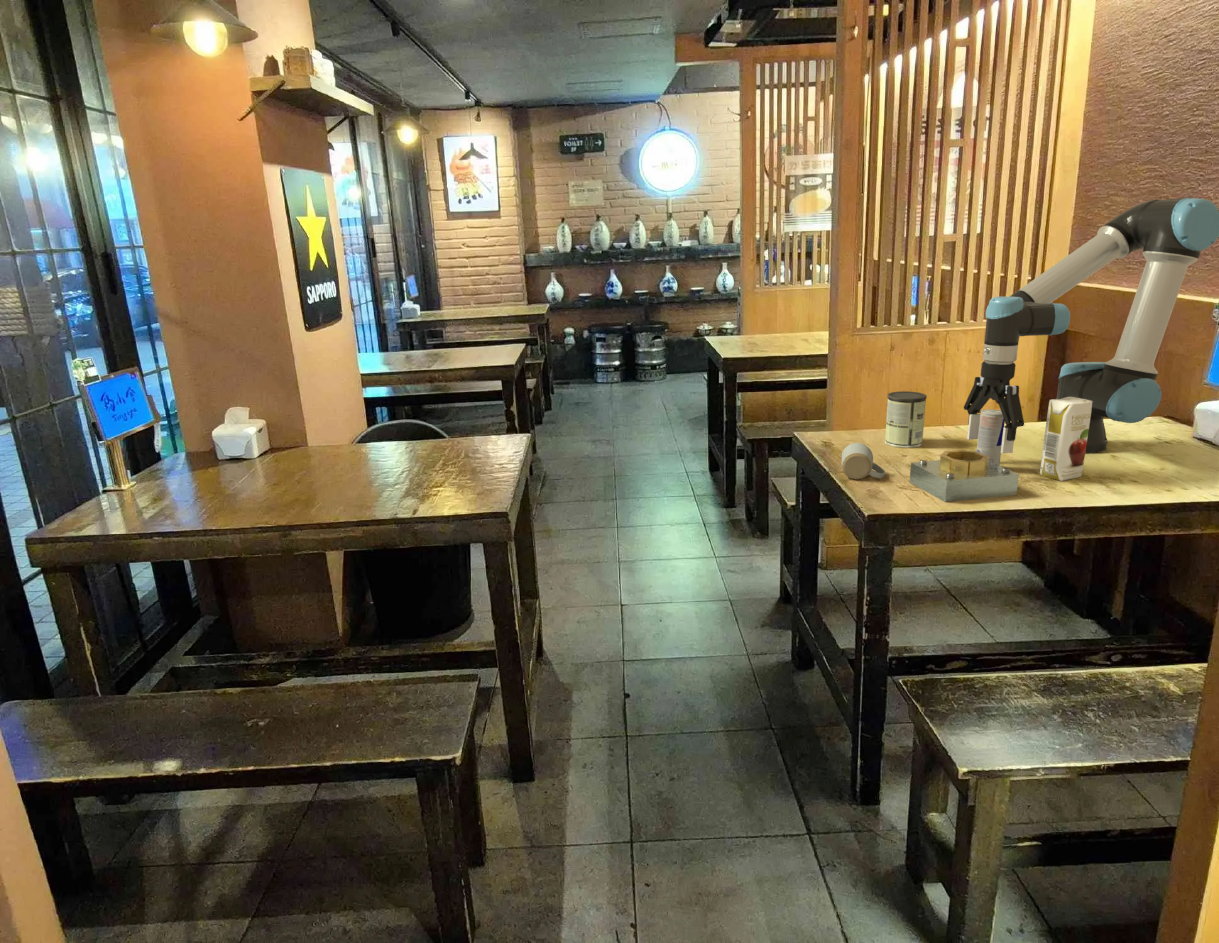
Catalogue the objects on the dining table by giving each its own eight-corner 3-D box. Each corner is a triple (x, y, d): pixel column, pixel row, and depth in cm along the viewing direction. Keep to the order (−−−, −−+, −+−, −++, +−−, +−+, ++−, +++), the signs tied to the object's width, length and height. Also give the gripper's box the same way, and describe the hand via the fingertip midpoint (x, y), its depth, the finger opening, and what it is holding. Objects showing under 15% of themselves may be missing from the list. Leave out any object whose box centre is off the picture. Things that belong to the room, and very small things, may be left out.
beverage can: (1001, 472, 202) (1008, 413, 197) (977, 471, 203) (983, 413, 198) (996, 466, 207) (1002, 408, 203) (972, 465, 208) (978, 408, 204)
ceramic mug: (840, 480, 200) (842, 450, 198) (840, 470, 208) (842, 441, 205) (885, 483, 197) (888, 452, 195) (884, 473, 205) (886, 444, 203)
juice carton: (1034, 474, 199) (1044, 399, 194) (1059, 469, 203) (1069, 395, 197) (1061, 482, 193) (1072, 404, 187) (1086, 477, 196) (1098, 400, 190)
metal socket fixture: (976, 476, 200) (979, 444, 197) (1016, 494, 186) (1020, 461, 183) (909, 482, 197) (912, 450, 194) (945, 502, 182) (948, 468, 180)
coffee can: (889, 437, 237) (892, 389, 233) (926, 441, 231) (930, 392, 227) (879, 445, 229) (883, 396, 224) (917, 450, 223) (922, 399, 219)
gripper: (954, 354, 208) (946, 434, 214) (1019, 371, 184) (1007, 460, 191) (981, 353, 209) (972, 432, 215) (1048, 369, 186) (1036, 457, 192)
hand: (988, 445), depth 203 cm, fingers open, 13 cm apart
